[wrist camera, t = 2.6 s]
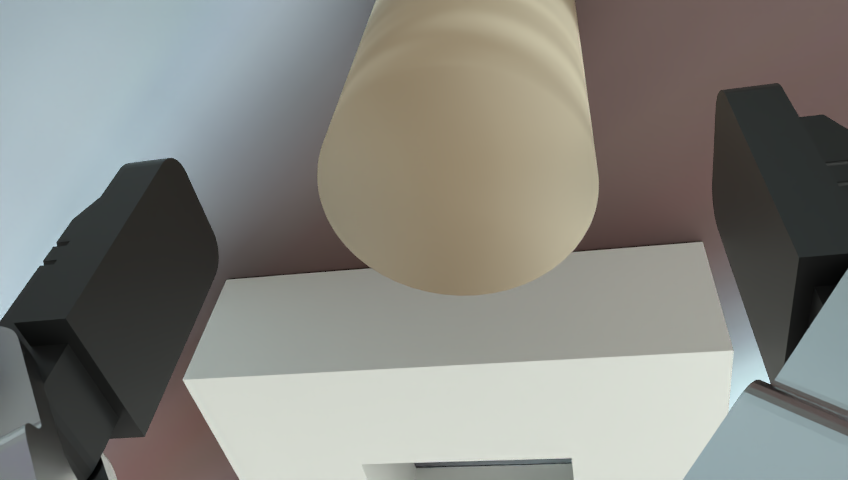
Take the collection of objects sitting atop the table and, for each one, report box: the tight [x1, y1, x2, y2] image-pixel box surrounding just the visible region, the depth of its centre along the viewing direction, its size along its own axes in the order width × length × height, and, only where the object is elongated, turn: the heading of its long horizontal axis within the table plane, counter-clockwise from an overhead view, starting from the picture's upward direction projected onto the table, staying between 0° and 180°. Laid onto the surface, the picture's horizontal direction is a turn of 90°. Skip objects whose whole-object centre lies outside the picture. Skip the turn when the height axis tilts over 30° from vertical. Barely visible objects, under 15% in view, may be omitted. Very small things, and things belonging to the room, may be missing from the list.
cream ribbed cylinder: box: [317, 0, 599, 296], centre depth 14 cm, size 4×4×8 cm
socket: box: [183, 242, 734, 480], centre depth 25 cm, size 14×14×4 cm
